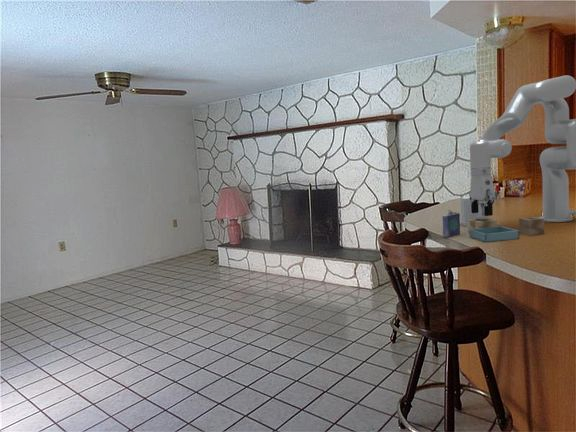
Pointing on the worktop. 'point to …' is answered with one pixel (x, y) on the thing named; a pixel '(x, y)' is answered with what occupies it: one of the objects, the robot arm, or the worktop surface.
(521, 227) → the walnut block
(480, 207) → the steel pin
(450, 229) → the flask
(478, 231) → the teal tray
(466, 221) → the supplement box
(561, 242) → the worktop surface
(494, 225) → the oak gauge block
